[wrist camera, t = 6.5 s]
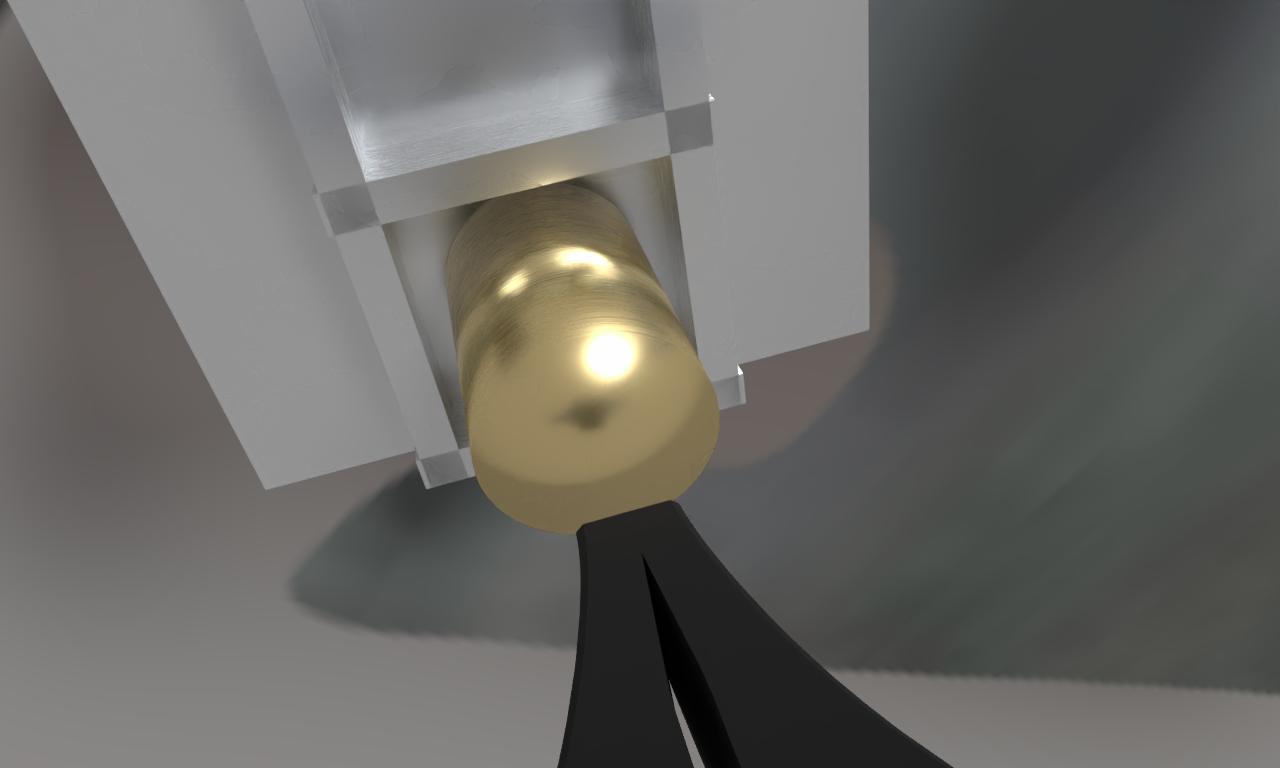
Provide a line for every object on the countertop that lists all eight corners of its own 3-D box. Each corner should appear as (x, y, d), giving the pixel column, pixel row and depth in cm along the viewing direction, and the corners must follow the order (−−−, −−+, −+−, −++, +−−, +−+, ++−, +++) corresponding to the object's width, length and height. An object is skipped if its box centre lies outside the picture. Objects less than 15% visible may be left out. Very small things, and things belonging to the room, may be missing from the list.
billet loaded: (624, 160, 19) (706, 304, 14) (653, 331, 21) (730, 497, 17) (420, 210, 18) (440, 373, 14) (473, 377, 21) (504, 560, 16)
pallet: (835, -370, 16) (911, -380, 13) (848, 304, 23) (897, 365, 21) (-65, -200, 14) (-139, -180, 12) (269, 455, 22) (260, 538, 20)
